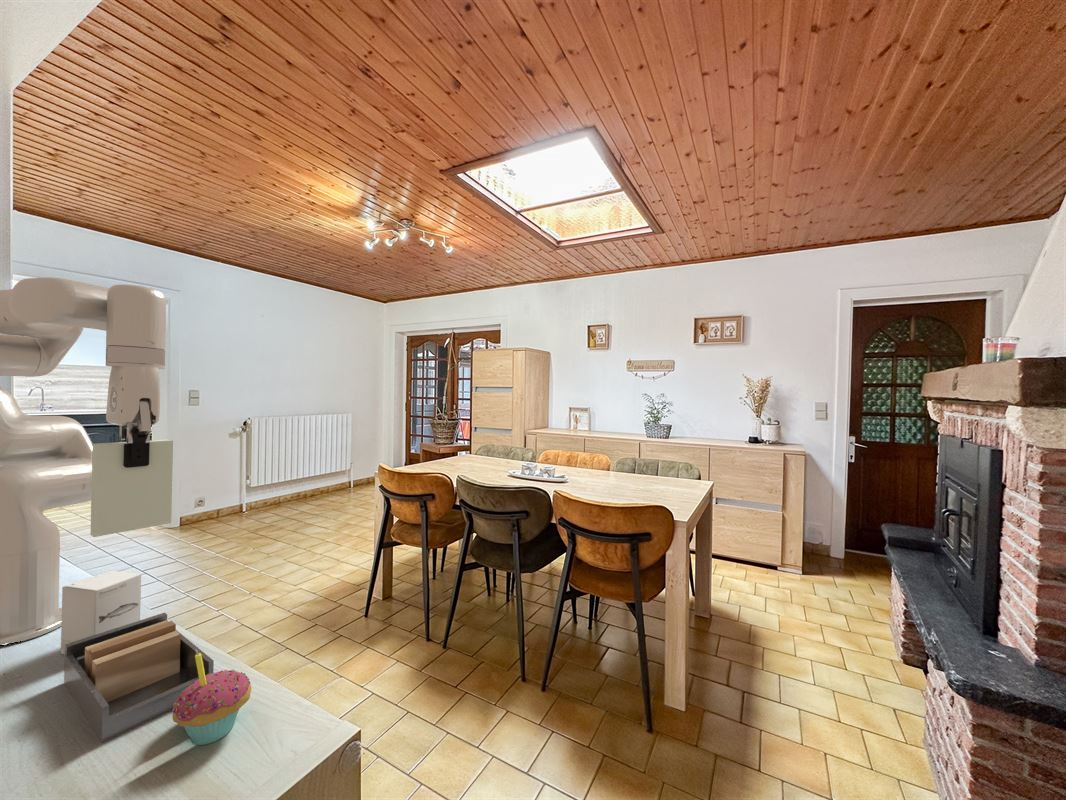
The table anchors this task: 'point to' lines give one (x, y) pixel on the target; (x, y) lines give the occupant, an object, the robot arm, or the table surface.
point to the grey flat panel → (130, 489)
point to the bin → (134, 705)
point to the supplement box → (99, 605)
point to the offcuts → (133, 659)
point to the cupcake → (211, 704)
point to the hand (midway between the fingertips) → (133, 465)
